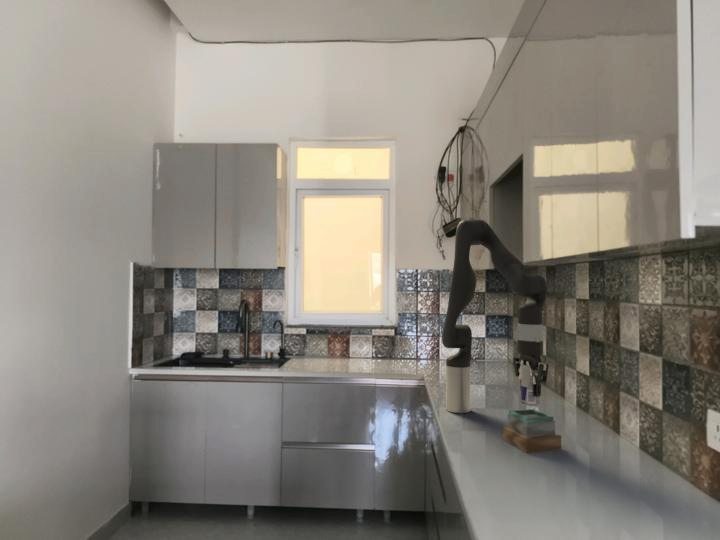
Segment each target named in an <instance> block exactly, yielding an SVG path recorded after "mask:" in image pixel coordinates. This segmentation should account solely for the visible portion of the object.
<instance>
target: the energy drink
mask: <svg viewBox="0 0 720 540" xmlns="http://www.w3.org/2000/svg"><path fill="white" fill-rule="evenodd" d="M532 370H533V369H532ZM533 373H538V370H535V371H534V370H533ZM535 377H536V380H537V376H535ZM540 397H541V396H540ZM540 397H534V396H533V380H532V377H531V376H530V368H529V367H528V365H523V364H522V365H521V389H520V403H521V404H523V405H524V406H530V407H537V406H539V405H540V403H541V402H540Z"/></svg>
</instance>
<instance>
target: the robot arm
mask: <svg viewBox="0 0 720 540" xmlns="http://www.w3.org/2000/svg"><path fill="white" fill-rule="evenodd" d="M454 241H455V242H454V257H453V258H454V260H453V268H452V275H451V280H450V287H449V295H448V303H447V310H446V314H445V319H444V323H443V327H442V332H441V343H442V345H443V347H444V348H446V349H458V351H457V352H455V354H453V355H450V356H448V357H447V358H446V360H445V379H446V380H445V381H446V383H445V410H446V411H448V412H450V413H456V414H464V413H465V414H466V413H470V412H471V360H472V345H473V344H472V343H473V334H472V329H471V327H470V326H469V325H468V324H457V322H458V320H459V317H460V316H461V314H462V313H463V312H464V311H465V309H466V308H467V307H468V306H469V305H470V303H472V301H473V299H474V296H475V294H476V287H477V276H476V274H475V271H474V269H473V267H472V264H471V261H470V255H471V252H470V251H471V247H472V246H479V245H481V246H483V247H484V248H486V250H488V251H489V253H490V258H491V263H492V265H493V266H494V268H496V270H497V271H498V272H499V273H500V274H501V275H502V276H503V277H504V278H505V279H506V281H507V283H508V286H509V288H510V289H511V290H512V291H513V293H514V294H516V295H517V296H519V297H522V298H523V297H524V298H526V301H525V302H524V304H521V305H519V307H518V308H517V330H516V333H517V334H516V337H517V339H516V340H517V341H516V346H517V348H516V352H517V354H519V357H513V366H514V367H513V368H514V373H515V377H518V379H519V389H520V390H521V365H522V364H523V365H528V367H529V368H530V376H531V377H532V380H533V396H534V397H541V395H542V384H546V383H547V379H548V375H549V374H548V373H549V364H548V363H544V362H542V359H541V356H543V355H544V329H543V309H544V306H545V302H546V299H547V293H548V284H547V281H546V279H545V277H544V276H542V275H540V274H535V273H534V274H531V273H530V274H529V273H525V271H526V267H525V265H524V263H523V262H521V260H520V259H518V258H517V257H516V256H515V255H514V254H513V253H512V252H511V251H510V250H509V249H508V248H507V247H506V245H505V244H504V243H503V242H502V241H501V239H500V238H499V236H498V235H497V234H496V233H495V231H494V229H493V228H492V227H491V226H490V224H488V223H487V221H485V220H483V219H468V220H467V219H464V220H461V221H460V222H459V223H458V225H457V226H456V231H455V240H454ZM532 369H533V370H534V371H535V370H538V373H533V370H532ZM535 376H537V380H536V377H535Z"/></svg>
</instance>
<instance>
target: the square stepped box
mask: <svg viewBox="0 0 720 540" xmlns="http://www.w3.org/2000/svg"><path fill="white" fill-rule="evenodd" d="M508 413H509V414H507V425H505V426H503V425H502V426H501V427H502V428H501V429H502V430H501V431H502V440H503V441H505V442H506V443H508V444H510V445H512V446H514V447H516V448H517V449H518V450H521V451H522V452H525V453H526V454H530V453H531V454H532V453H540V452H547V451H548V452H550V451H557V450H562V435H561V434H558V433H556V420H554V416H552V415H550V414H547V413H545V412H542V411H540V410H537V409H535V408H528V409H515V410H509V412H508Z"/></svg>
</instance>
